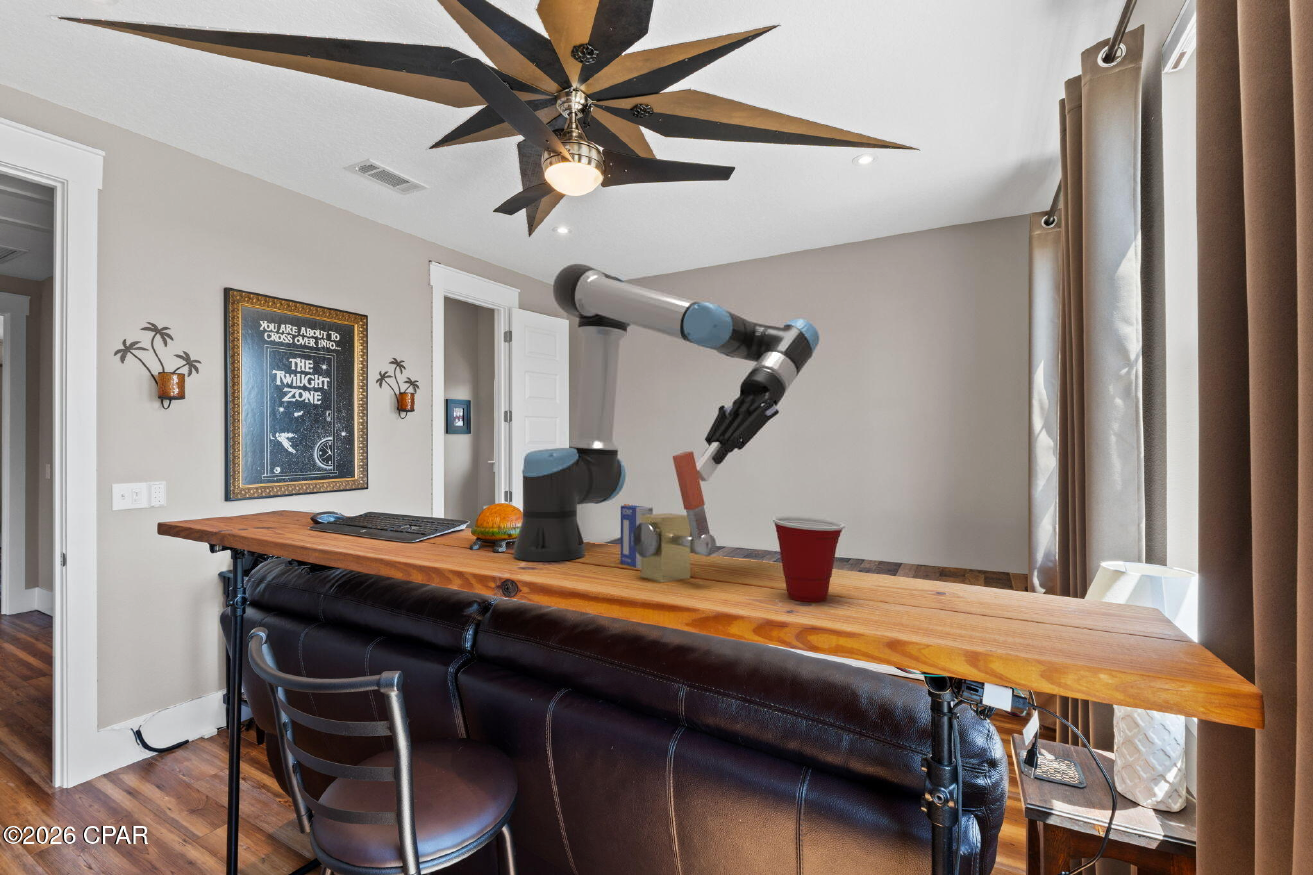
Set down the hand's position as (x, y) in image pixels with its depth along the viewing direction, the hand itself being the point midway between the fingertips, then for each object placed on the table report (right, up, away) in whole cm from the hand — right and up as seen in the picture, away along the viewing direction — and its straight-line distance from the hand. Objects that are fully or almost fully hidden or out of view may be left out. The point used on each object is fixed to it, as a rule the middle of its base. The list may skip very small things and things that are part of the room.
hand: (700, 475), depth 95 cm
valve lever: (+1, -13, +1) cm, 13 cm away
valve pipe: (-4, -19, +6) cm, 20 cm away
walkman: (-11, -19, +20) cm, 30 cm away
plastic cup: (+16, -18, -7) cm, 25 cm away
